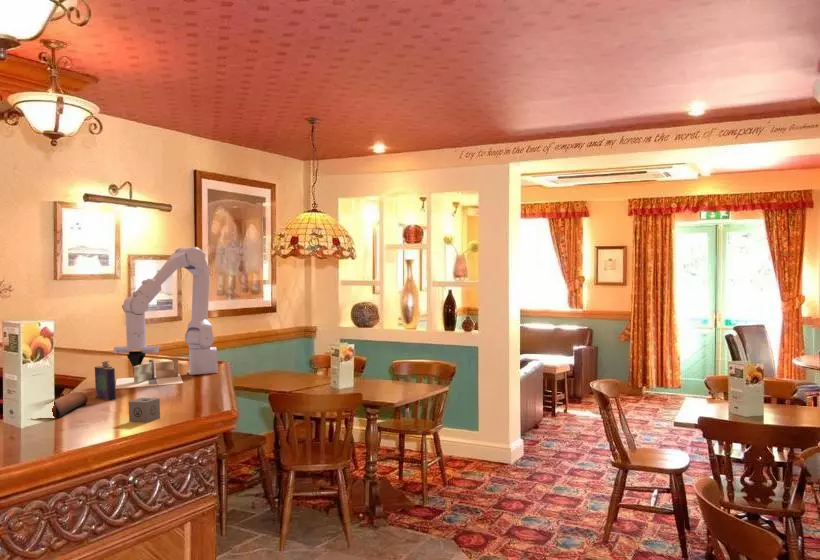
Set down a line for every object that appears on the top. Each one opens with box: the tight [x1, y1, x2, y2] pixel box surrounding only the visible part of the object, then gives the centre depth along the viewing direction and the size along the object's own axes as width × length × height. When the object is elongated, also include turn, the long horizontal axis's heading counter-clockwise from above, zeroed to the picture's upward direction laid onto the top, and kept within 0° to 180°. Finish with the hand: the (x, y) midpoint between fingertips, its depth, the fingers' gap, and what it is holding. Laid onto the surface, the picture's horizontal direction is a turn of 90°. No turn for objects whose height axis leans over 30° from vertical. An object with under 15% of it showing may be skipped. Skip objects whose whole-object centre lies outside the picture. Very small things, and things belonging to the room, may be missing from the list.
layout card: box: [115, 373, 184, 390], centre depth 223 cm, size 20×20×1 cm
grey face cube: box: [128, 397, 161, 424], centre depth 166 cm, size 5×5×5 cm
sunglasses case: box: [52, 391, 89, 419], centre depth 178 cm, size 18×7×7 cm, turn 5°
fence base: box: [148, 357, 179, 379], centre depth 229 cm, size 9×2×6 cm, turn 112°
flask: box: [94, 360, 117, 401], centre depth 195 cm, size 9×3×11 cm, turn 50°
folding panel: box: [132, 361, 152, 383], centre depth 222 cm, size 10×1×5 cm, turn 174°
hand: (137, 375), depth 221 cm, fingers closed
